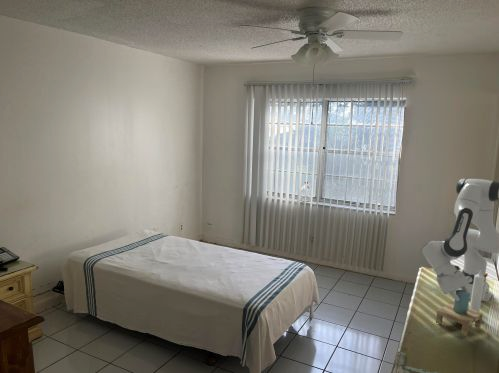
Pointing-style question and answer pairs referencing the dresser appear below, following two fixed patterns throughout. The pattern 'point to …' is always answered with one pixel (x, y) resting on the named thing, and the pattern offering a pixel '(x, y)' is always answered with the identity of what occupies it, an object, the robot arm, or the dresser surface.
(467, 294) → the teal domed cylinder
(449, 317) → the small wooden stool
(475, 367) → the dresser surface
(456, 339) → the dresser surface
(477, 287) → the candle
